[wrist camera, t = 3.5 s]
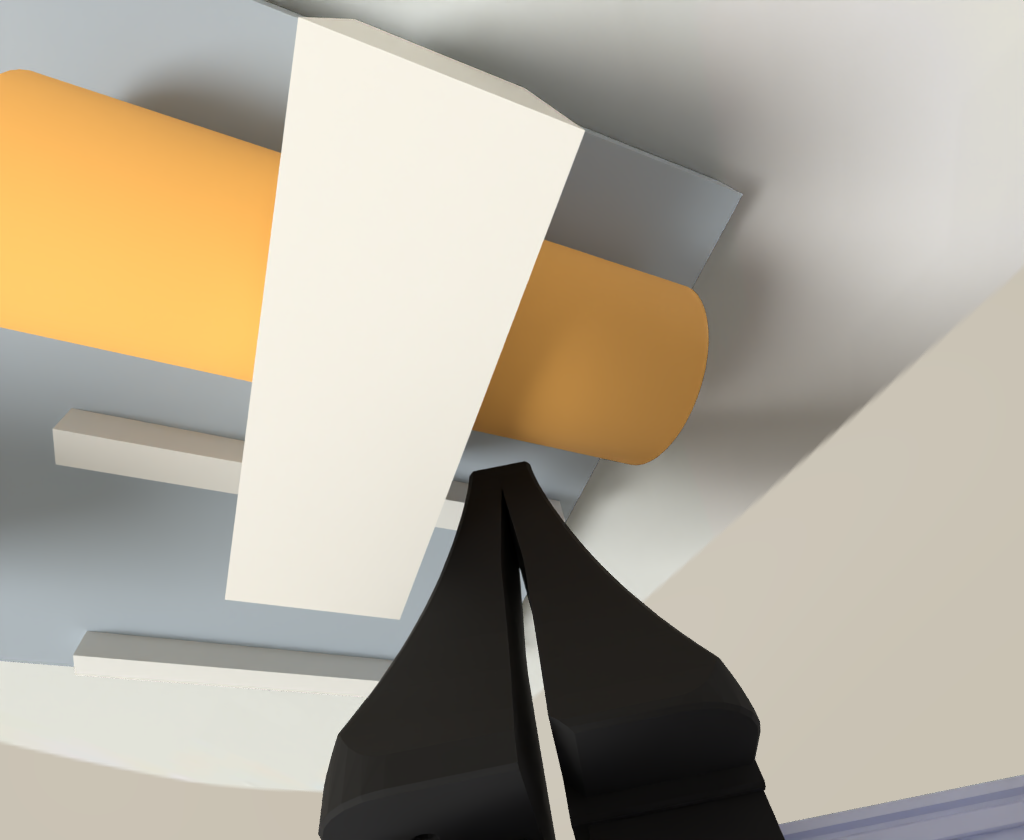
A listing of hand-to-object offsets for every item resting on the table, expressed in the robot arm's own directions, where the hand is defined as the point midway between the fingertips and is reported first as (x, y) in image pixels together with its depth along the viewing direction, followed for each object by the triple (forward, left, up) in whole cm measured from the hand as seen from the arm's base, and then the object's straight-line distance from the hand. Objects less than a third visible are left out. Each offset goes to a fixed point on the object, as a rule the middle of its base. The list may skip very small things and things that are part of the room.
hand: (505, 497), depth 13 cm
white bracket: (+4, -4, -2) cm, 5 cm away
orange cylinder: (+4, -4, -2) cm, 6 cm away
